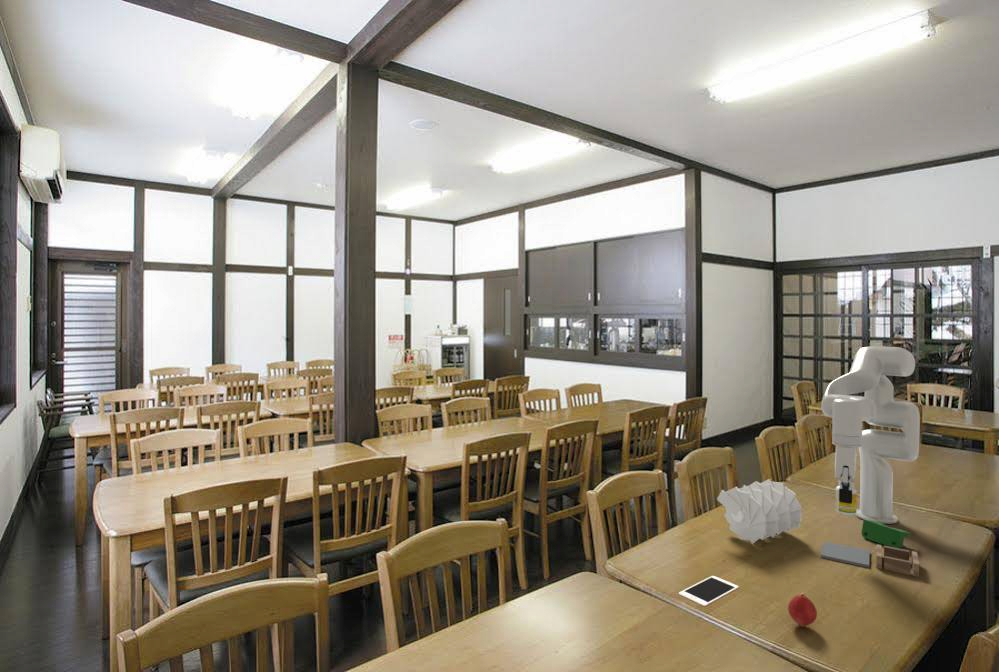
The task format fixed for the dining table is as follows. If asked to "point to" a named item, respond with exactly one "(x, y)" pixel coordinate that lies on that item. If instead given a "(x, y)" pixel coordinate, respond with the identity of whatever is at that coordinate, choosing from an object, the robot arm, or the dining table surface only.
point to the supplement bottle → (846, 507)
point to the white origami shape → (761, 510)
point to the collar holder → (897, 560)
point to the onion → (802, 610)
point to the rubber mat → (845, 554)
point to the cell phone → (708, 590)
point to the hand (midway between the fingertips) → (846, 499)
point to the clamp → (884, 534)
